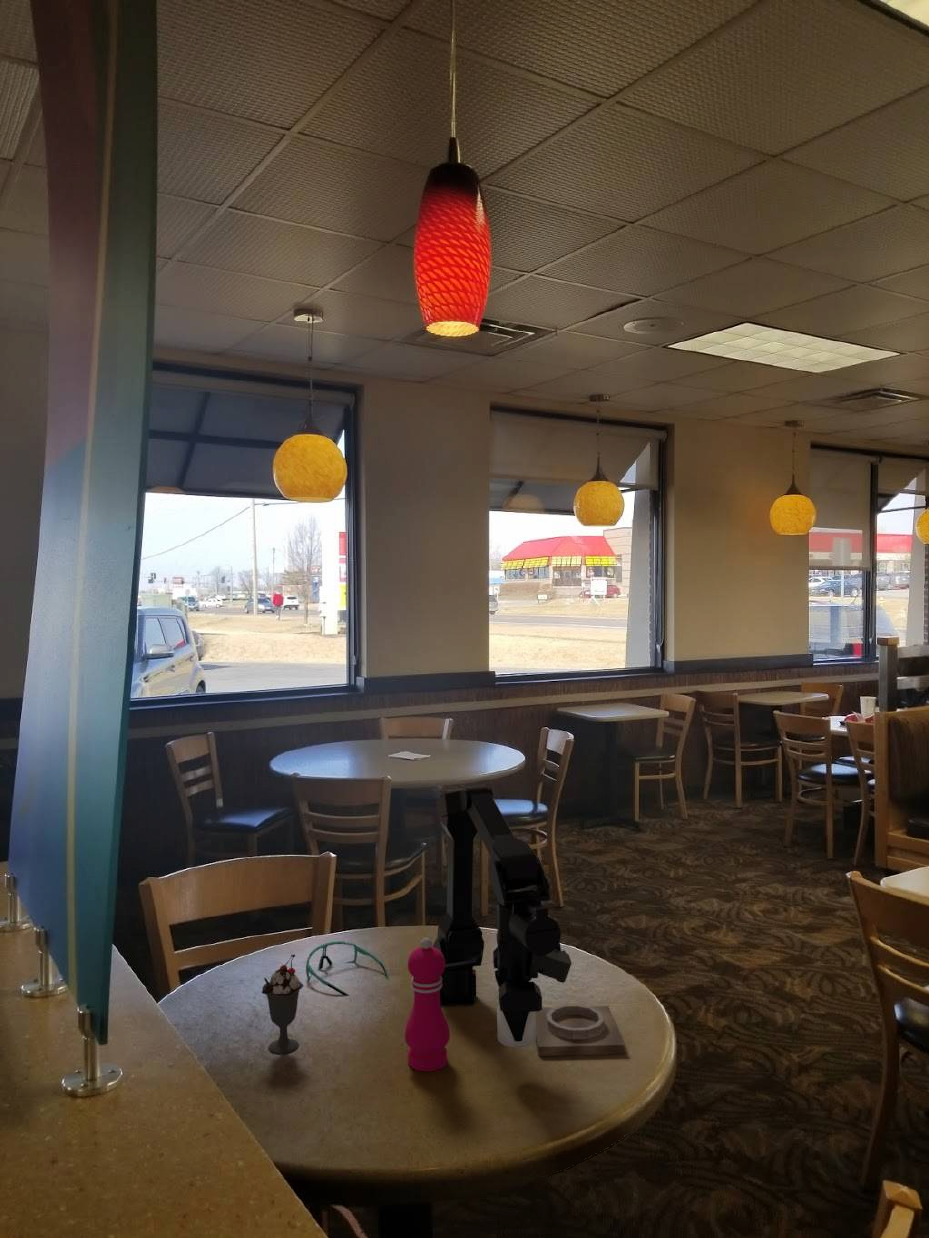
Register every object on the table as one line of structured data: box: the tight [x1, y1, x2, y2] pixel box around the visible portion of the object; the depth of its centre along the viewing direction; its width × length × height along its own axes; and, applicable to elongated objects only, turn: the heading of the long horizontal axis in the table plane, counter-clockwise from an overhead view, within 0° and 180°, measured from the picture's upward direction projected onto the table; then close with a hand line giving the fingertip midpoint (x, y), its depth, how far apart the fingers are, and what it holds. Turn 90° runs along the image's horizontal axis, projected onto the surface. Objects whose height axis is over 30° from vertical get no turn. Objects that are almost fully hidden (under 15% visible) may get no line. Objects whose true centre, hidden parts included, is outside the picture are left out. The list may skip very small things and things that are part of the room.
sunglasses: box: [305, 940, 390, 997], centre depth 178 cm, size 14×15×5 cm
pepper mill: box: [404, 937, 451, 1072], centre depth 144 cm, size 7×7×20 cm
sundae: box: [261, 954, 304, 1055], centre depth 150 cm, size 7×7×15 cm
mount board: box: [535, 1003, 626, 1057], centre depth 153 cm, size 14×14×3 cm
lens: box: [496, 1002, 536, 1048], centre depth 141 cm, size 6×6×5 cm
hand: (516, 1030), depth 141 cm, fingers closed on lens, 6 cm apart
